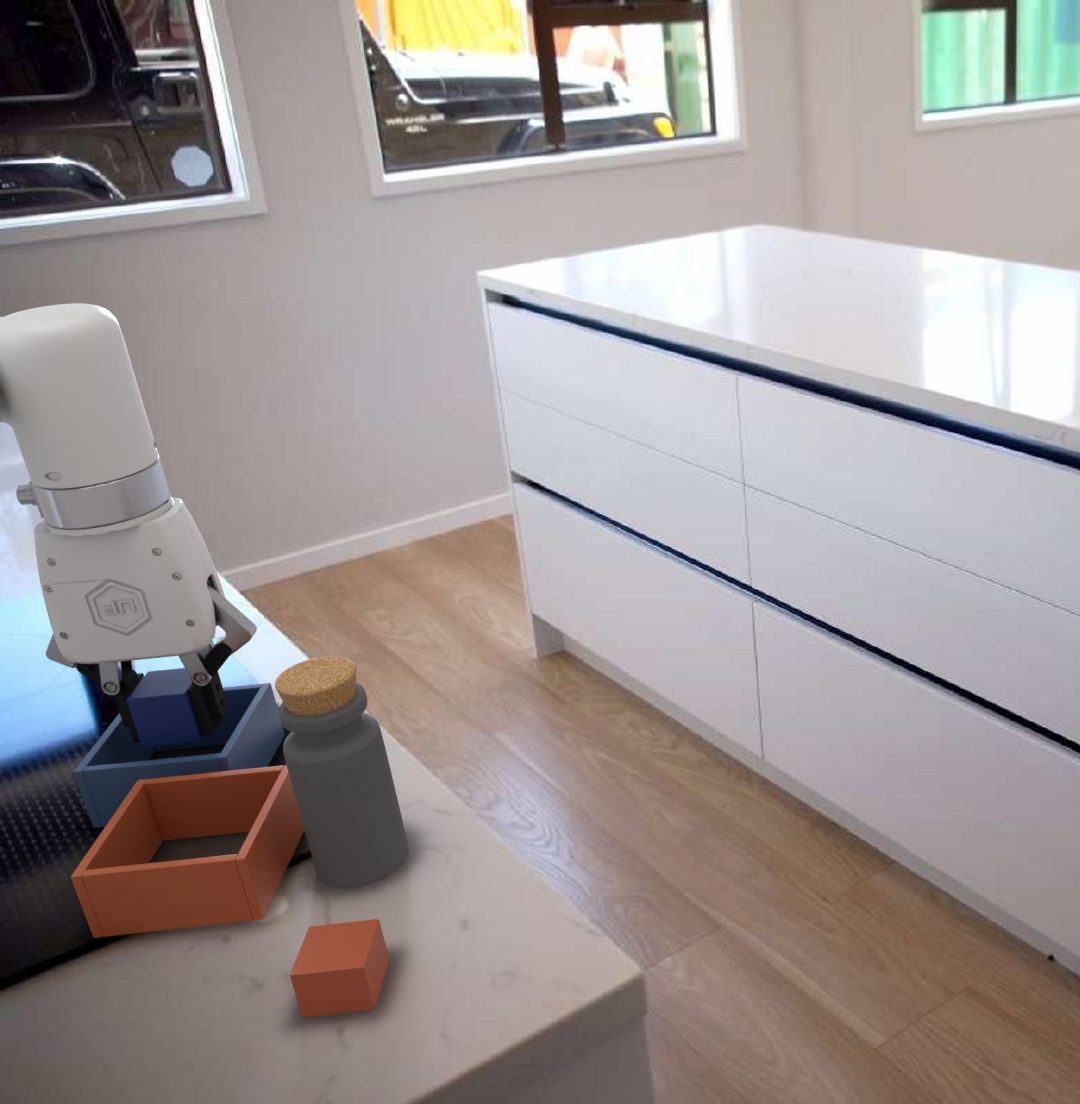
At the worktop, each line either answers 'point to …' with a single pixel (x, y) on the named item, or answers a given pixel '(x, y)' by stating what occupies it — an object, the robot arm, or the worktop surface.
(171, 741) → the navy block
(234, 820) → the terracotta bin
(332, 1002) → the terracotta block
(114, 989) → the worktop surface
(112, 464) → the robot arm
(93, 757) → the blue bin
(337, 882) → the bottle
